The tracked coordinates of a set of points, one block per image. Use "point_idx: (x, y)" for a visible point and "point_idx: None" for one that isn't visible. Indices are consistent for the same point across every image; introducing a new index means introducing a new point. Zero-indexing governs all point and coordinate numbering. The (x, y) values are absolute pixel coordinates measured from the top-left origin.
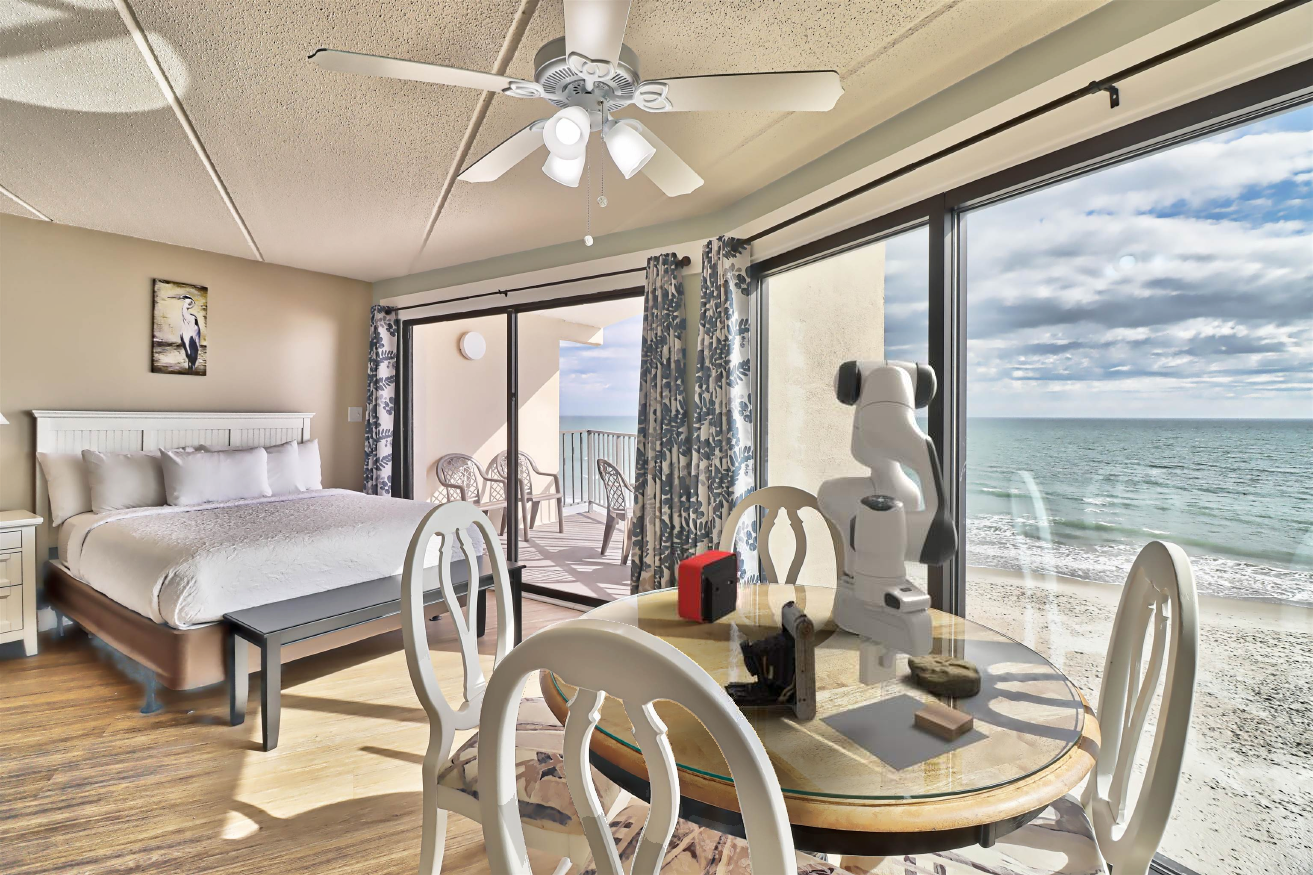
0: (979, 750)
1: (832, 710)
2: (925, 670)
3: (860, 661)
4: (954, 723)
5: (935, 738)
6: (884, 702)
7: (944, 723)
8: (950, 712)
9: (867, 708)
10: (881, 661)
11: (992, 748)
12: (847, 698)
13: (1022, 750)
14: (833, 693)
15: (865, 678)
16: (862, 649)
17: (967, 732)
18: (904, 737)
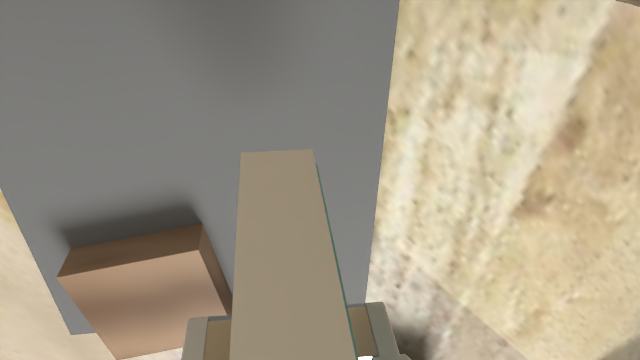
0: (26, 277)
1: (437, 49)
2: None
3: (319, 242)
4: (94, 302)
5: (99, 218)
6: (357, 234)
7: (102, 280)
8: (162, 331)
9: (358, 164)
10: (219, 344)
11: (31, 307)
12: (460, 161)
13: (8, 351)
14: (516, 143)
15: (259, 176)
16: (310, 338)
17: None
18: (133, 137)
